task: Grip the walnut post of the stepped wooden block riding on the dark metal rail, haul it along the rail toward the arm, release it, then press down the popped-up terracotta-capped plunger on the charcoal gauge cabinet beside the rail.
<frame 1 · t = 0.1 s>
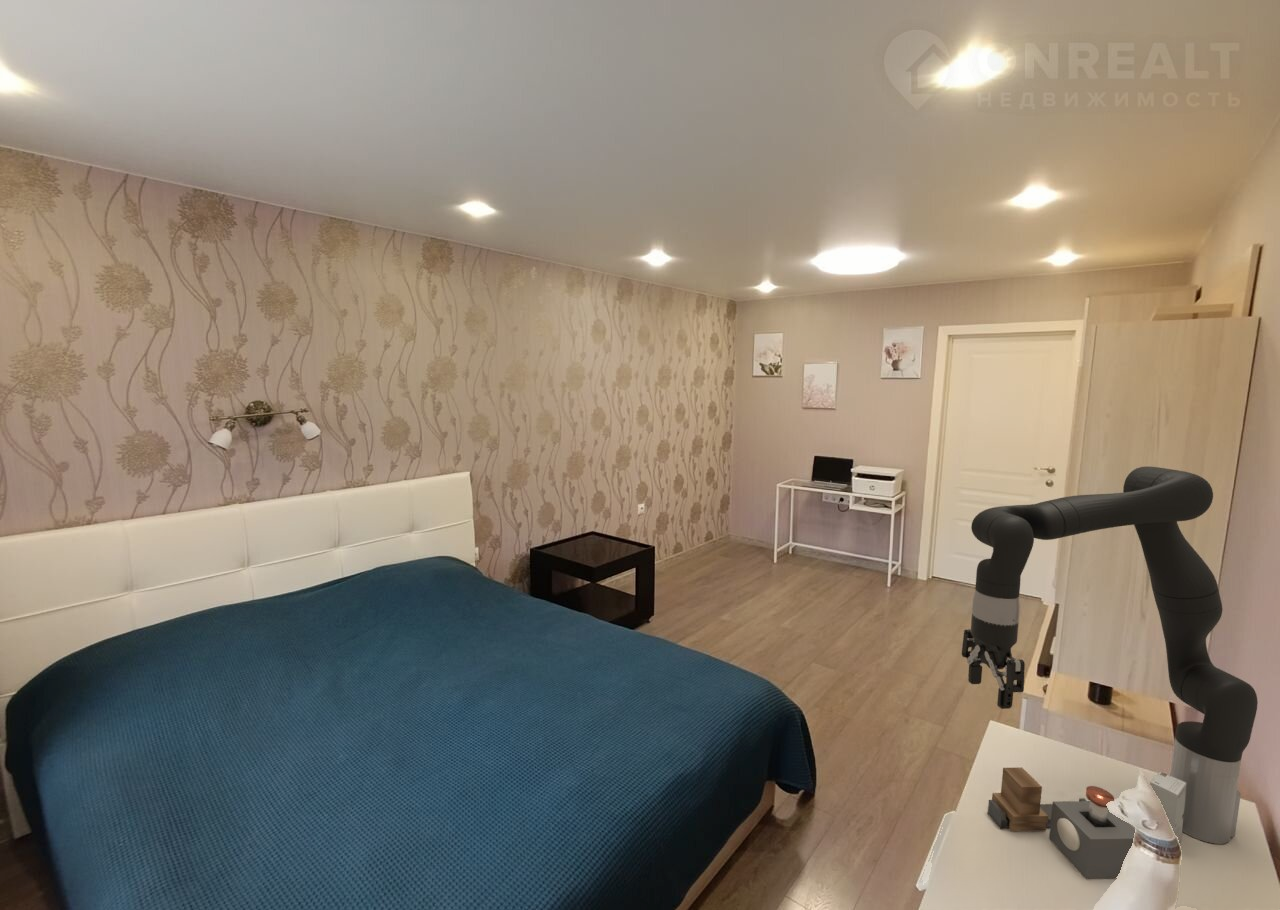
hand: (988, 694, 107), 29 cm above the table, fingers open, 8 cm apart
stepped wooden block: (1020, 798, 113), point 5 cm above the table, slide at 0.0 cm
rail: (1042, 820, 114), on the table
gauge cabinet: (1093, 857, 105), on the table
skincare box: (1161, 840, 109), on the table
plunger: (1098, 811, 103), point 10 cm above the table, slide at 0.0 cm
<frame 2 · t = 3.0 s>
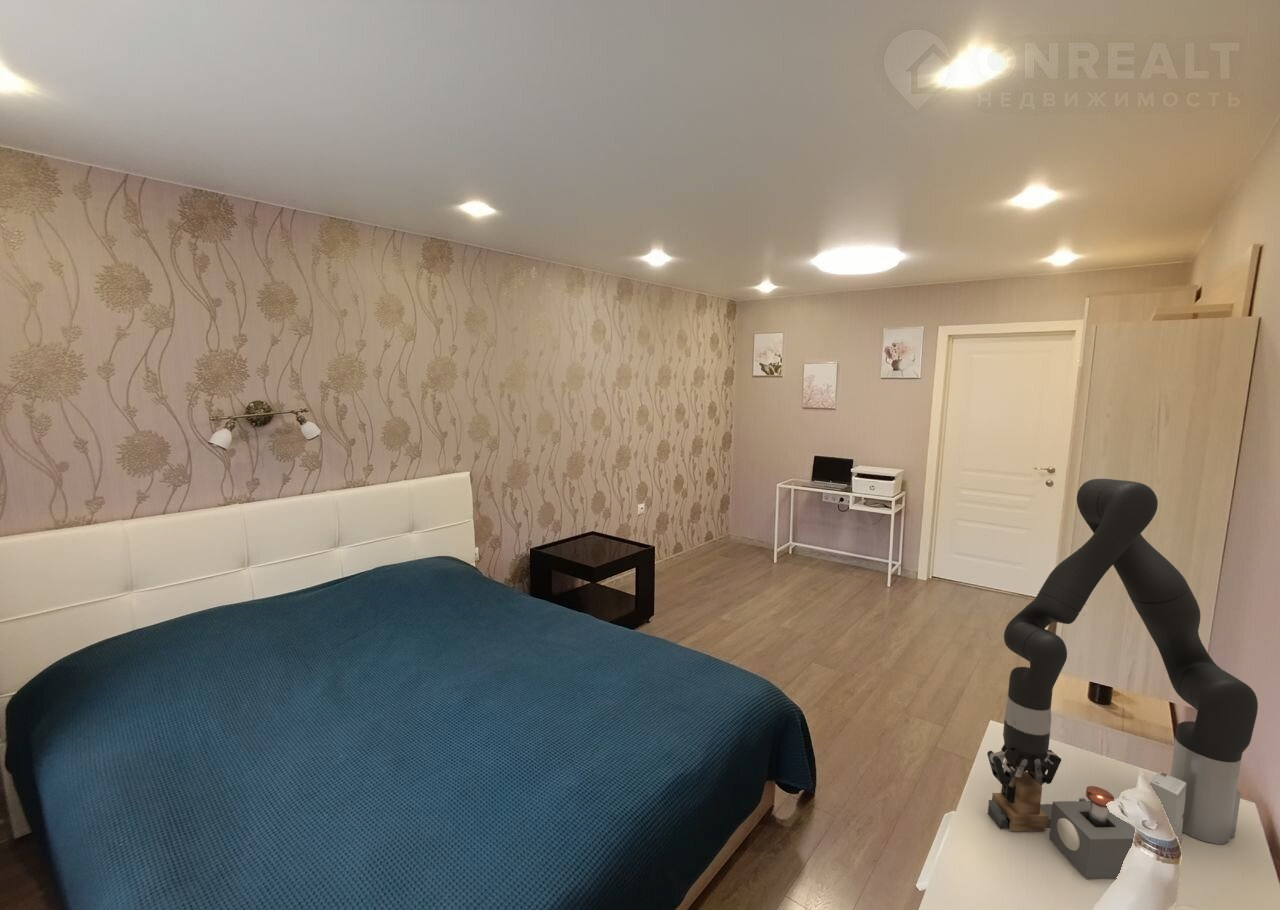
hand: (1019, 799, 113), 5 cm above the table, fingers closed on stepped wooden block, 4 cm apart
stepped wooden block: (1020, 798, 113), point 5 cm above the table, slide at 0.0 cm, touching gripper
everything else where it was.
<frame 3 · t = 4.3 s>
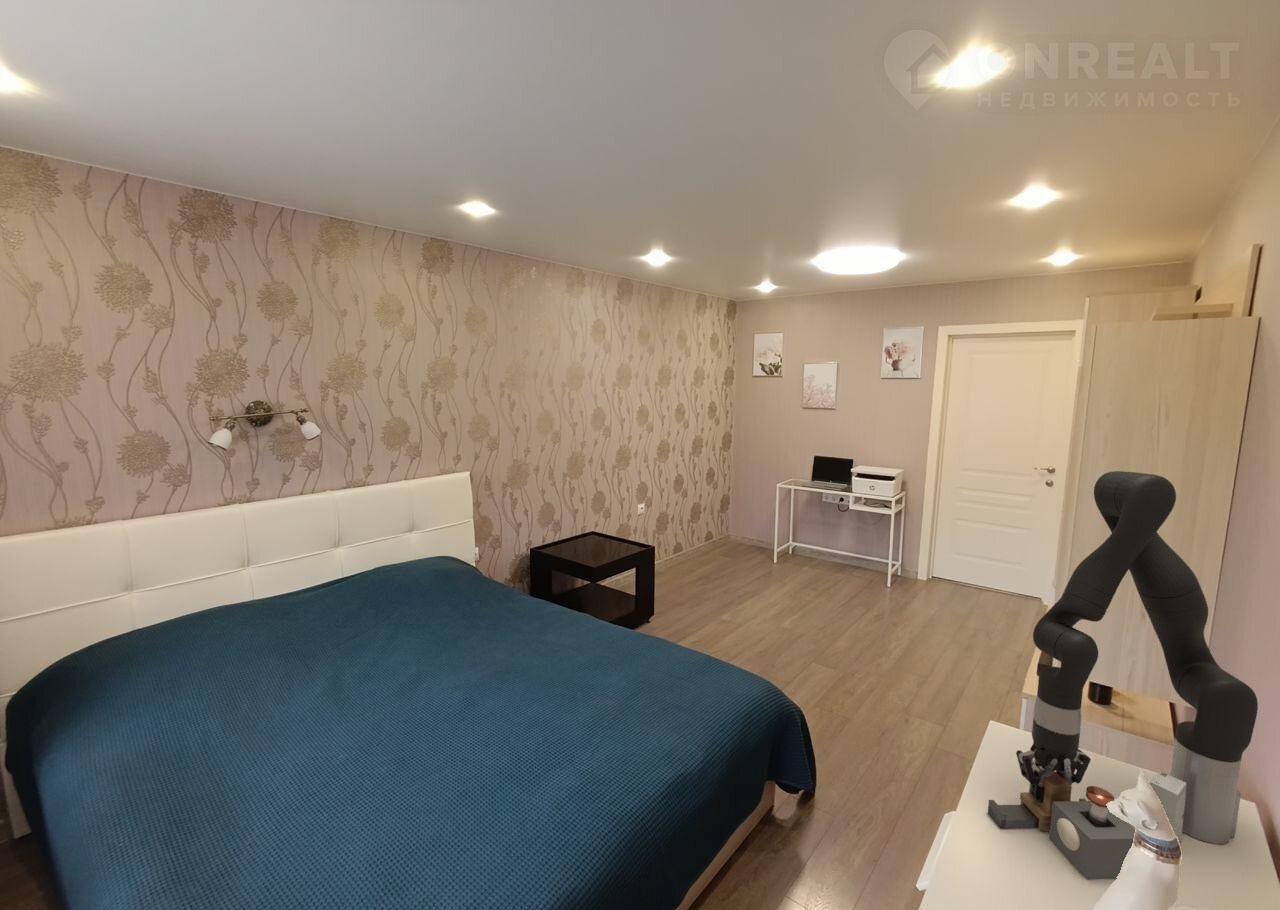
hand: (1048, 799, 113), 5 cm above the table, fingers closed on stepped wooden block, 4 cm apart
stepped wooden block: (1048, 797, 113), point 5 cm above the table, slide at 5.9 cm, touching gripper
everything else where it was.
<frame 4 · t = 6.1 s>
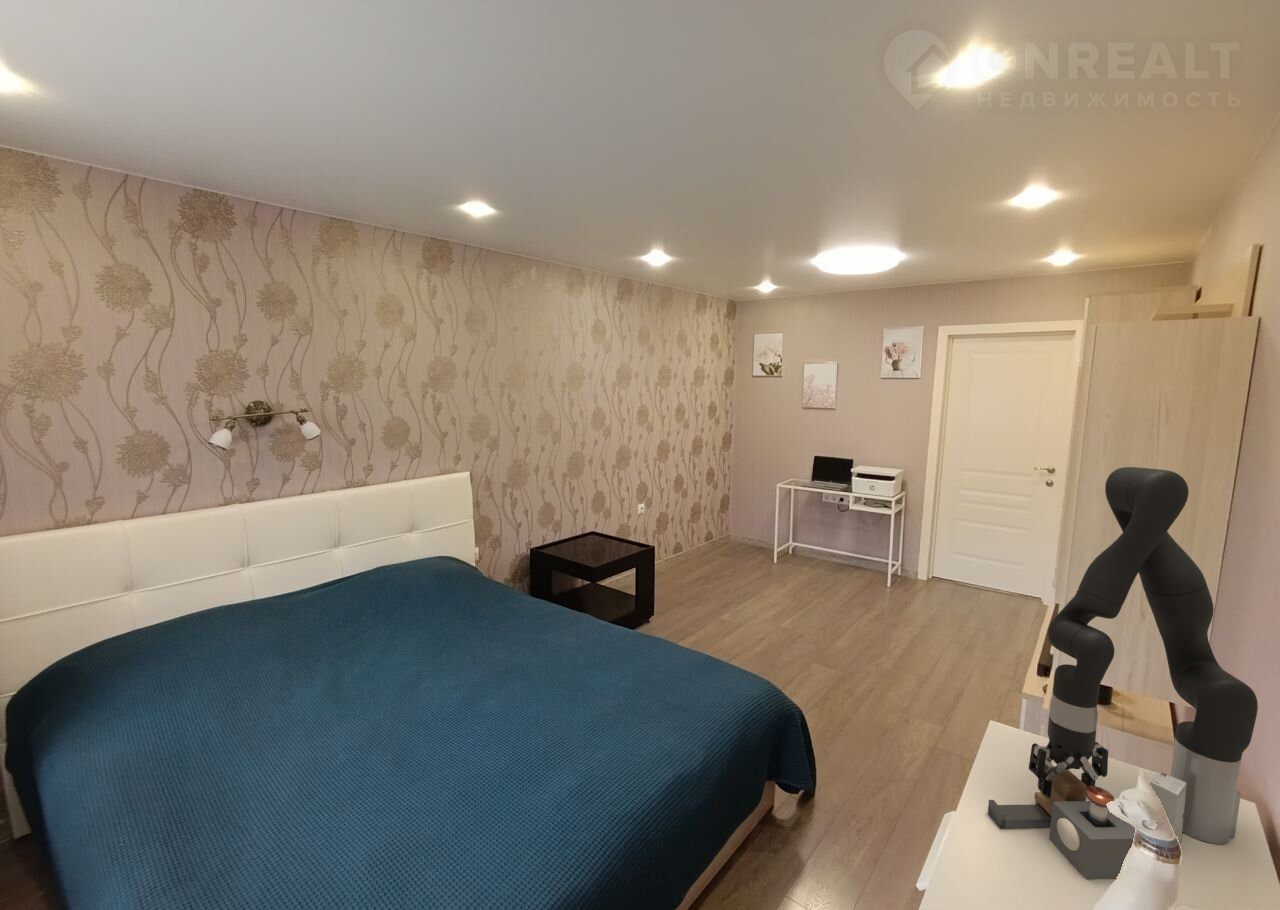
hand: (1065, 793, 113), 6 cm above the table, fingers open, 8 cm apart
stepped wooden block: (1063, 797, 113), point 5 cm above the table, slide at 9.0 cm
everything else where it was.
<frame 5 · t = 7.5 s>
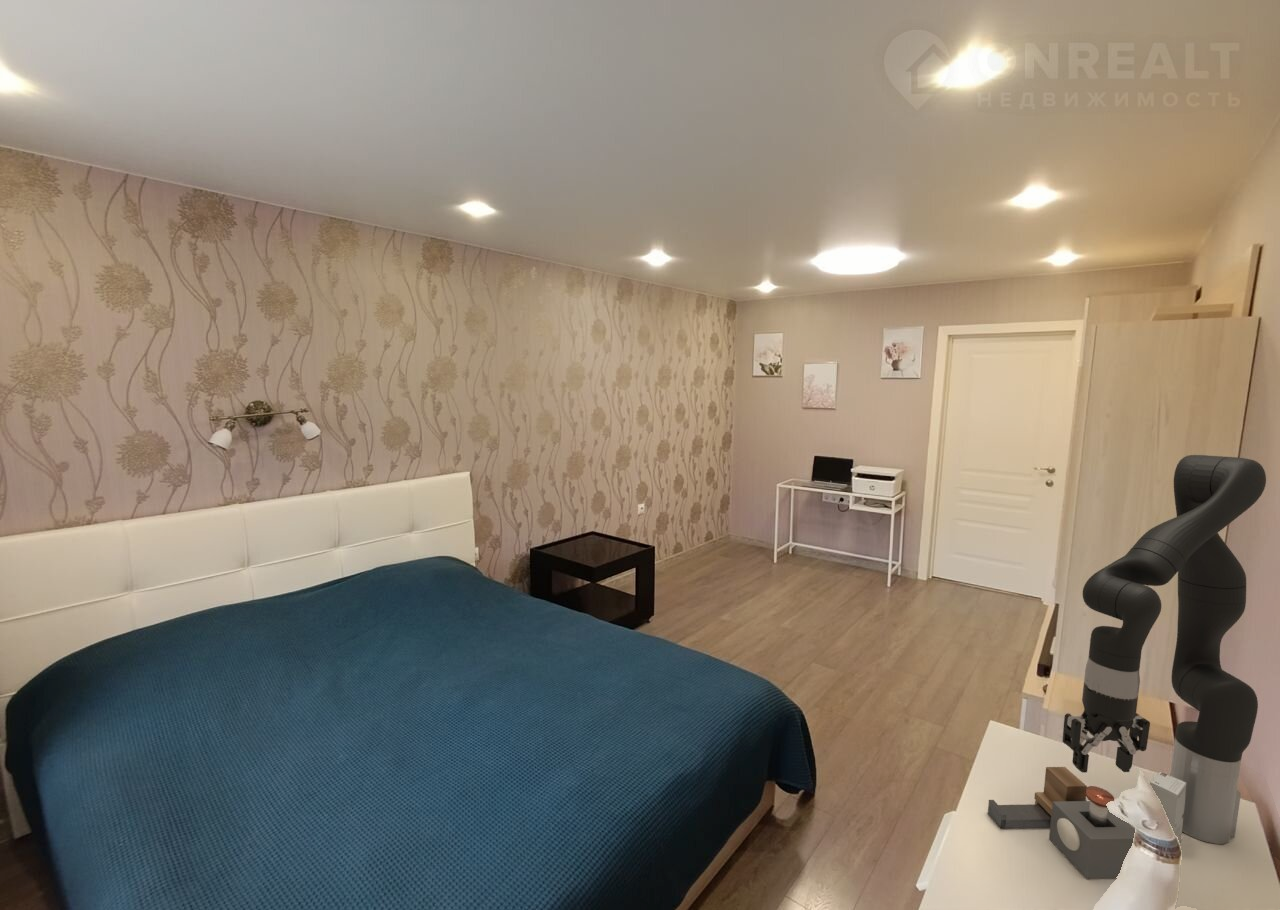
hand: (1101, 769, 103), 18 cm above the table, fingers open, 7 cm apart
nothing on the table moved.
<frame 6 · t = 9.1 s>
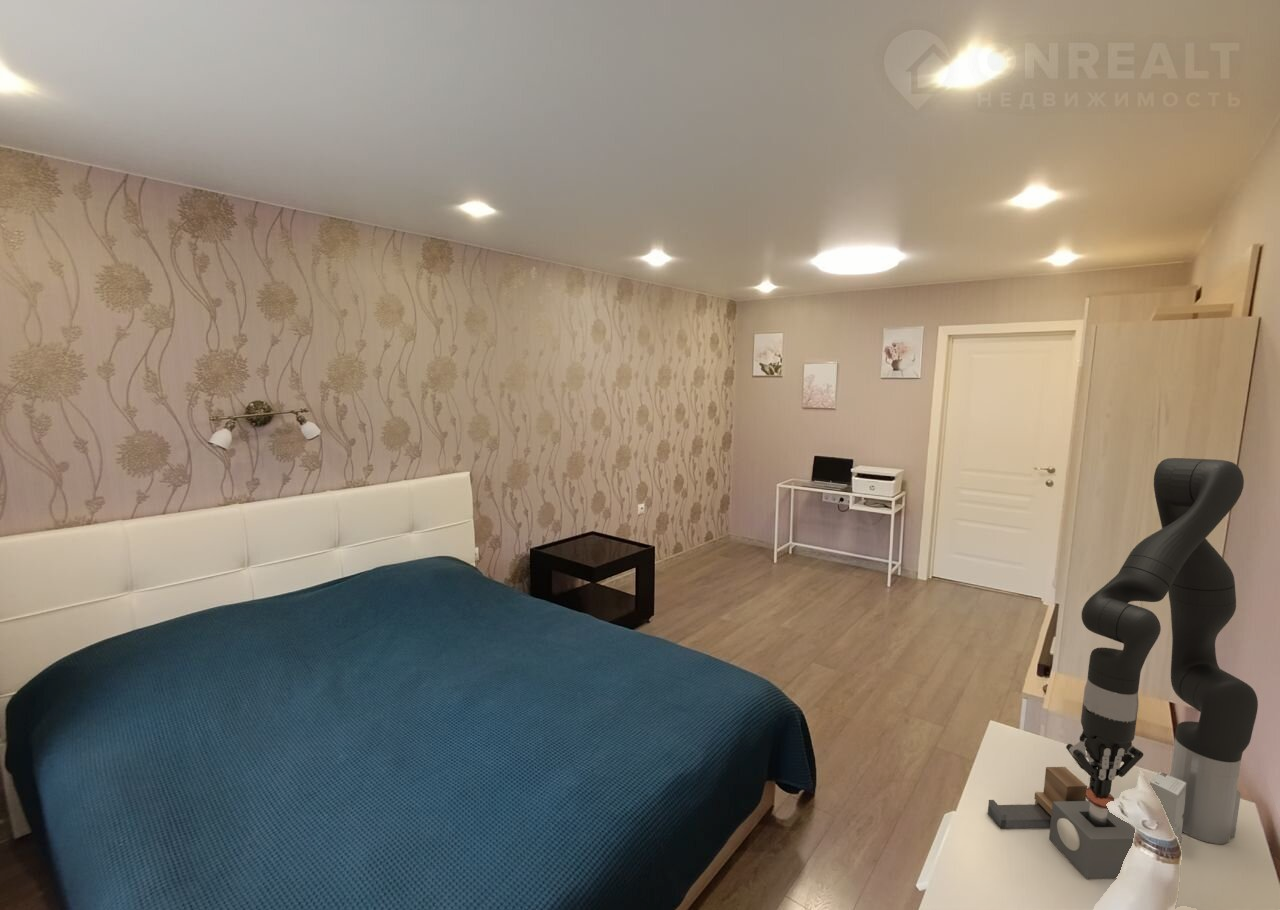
hand: (1099, 794, 103), 13 cm above the table, fingers closed
plunger: (1098, 812, 103), point 9 cm above the table, slide at 0.2 cm, touching gripper
everything else where it was.
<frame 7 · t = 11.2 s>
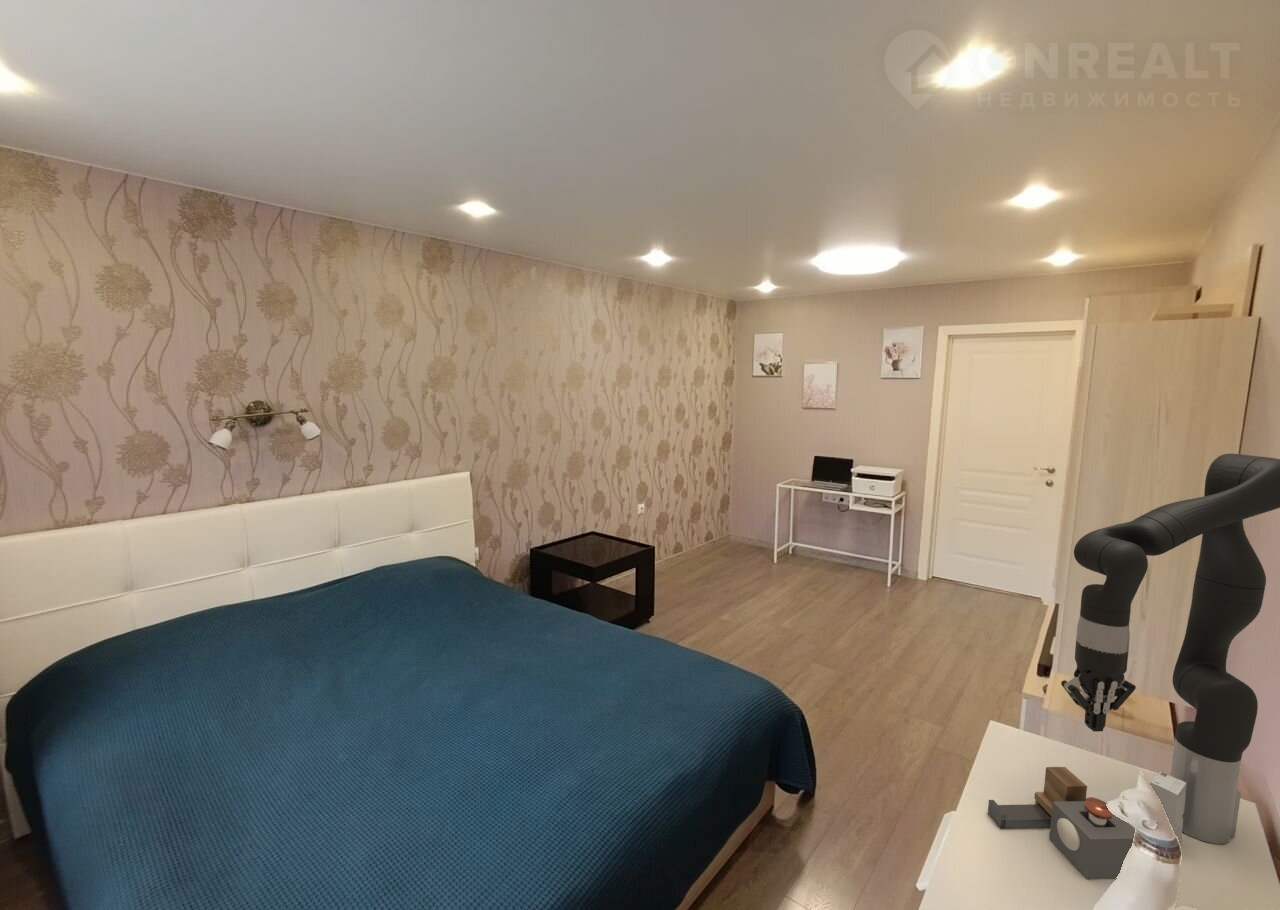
hand: (1094, 728, 105), 24 cm above the table, fingers closed
plunger: (1096, 822, 104), point 7 cm above the table, slide at 2.4 cm
everything else where it was.
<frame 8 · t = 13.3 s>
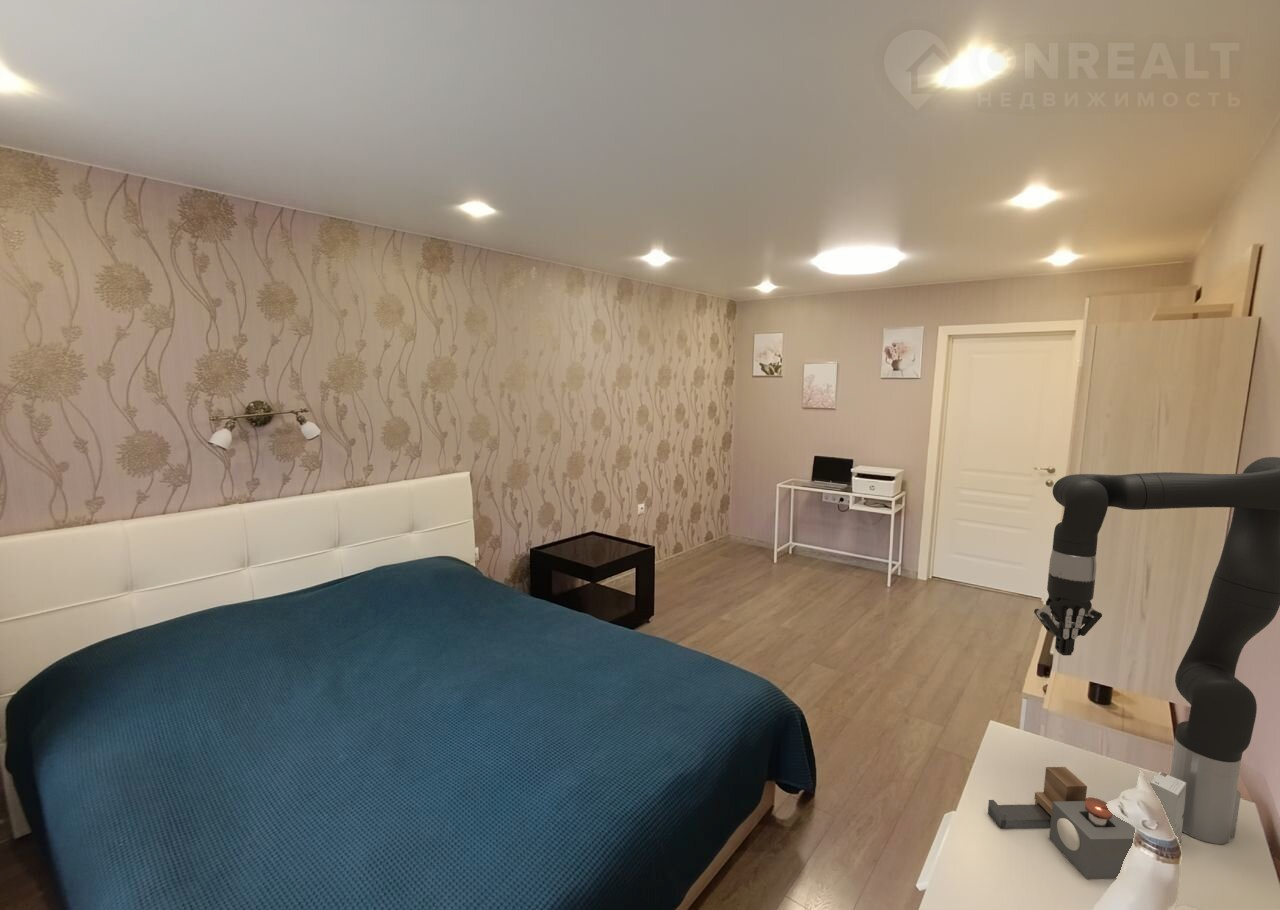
hand: (1063, 653, 115), 33 cm above the table, fingers closed
nothing on the table moved.
at the end: stepped wooden block slide at 9.0 cm; plunger slide at 2.4 cm; the gripper is holding nothing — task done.
